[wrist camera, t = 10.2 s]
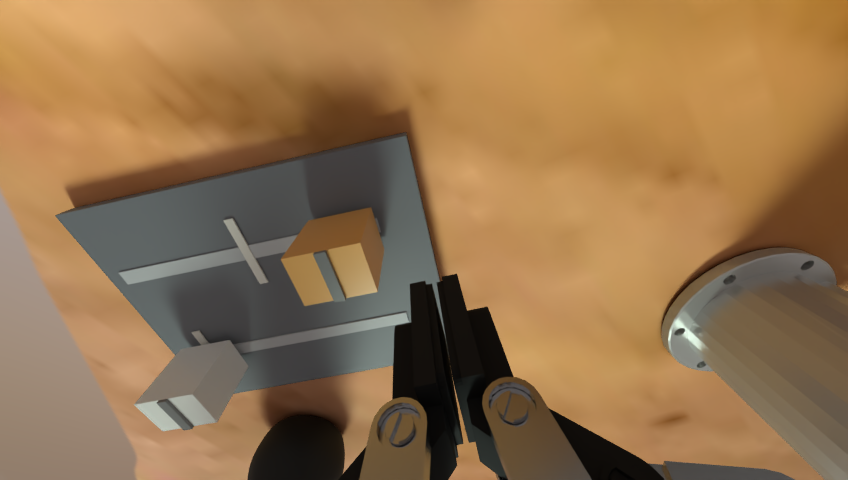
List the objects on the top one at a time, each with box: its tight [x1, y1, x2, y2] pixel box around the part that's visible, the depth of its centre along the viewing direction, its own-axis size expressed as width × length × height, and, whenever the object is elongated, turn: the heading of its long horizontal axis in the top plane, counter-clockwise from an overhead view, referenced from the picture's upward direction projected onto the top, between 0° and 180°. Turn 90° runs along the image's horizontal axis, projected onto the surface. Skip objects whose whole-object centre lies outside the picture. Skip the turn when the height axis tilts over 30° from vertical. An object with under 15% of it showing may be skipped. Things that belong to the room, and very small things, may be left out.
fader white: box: [134, 340, 248, 431], centre depth 22 cm, size 4×3×5 cm
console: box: [55, 132, 449, 394], centre depth 23 cm, size 22×18×1 cm
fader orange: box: [281, 207, 384, 306], centre depth 17 cm, size 4×3×5 cm
